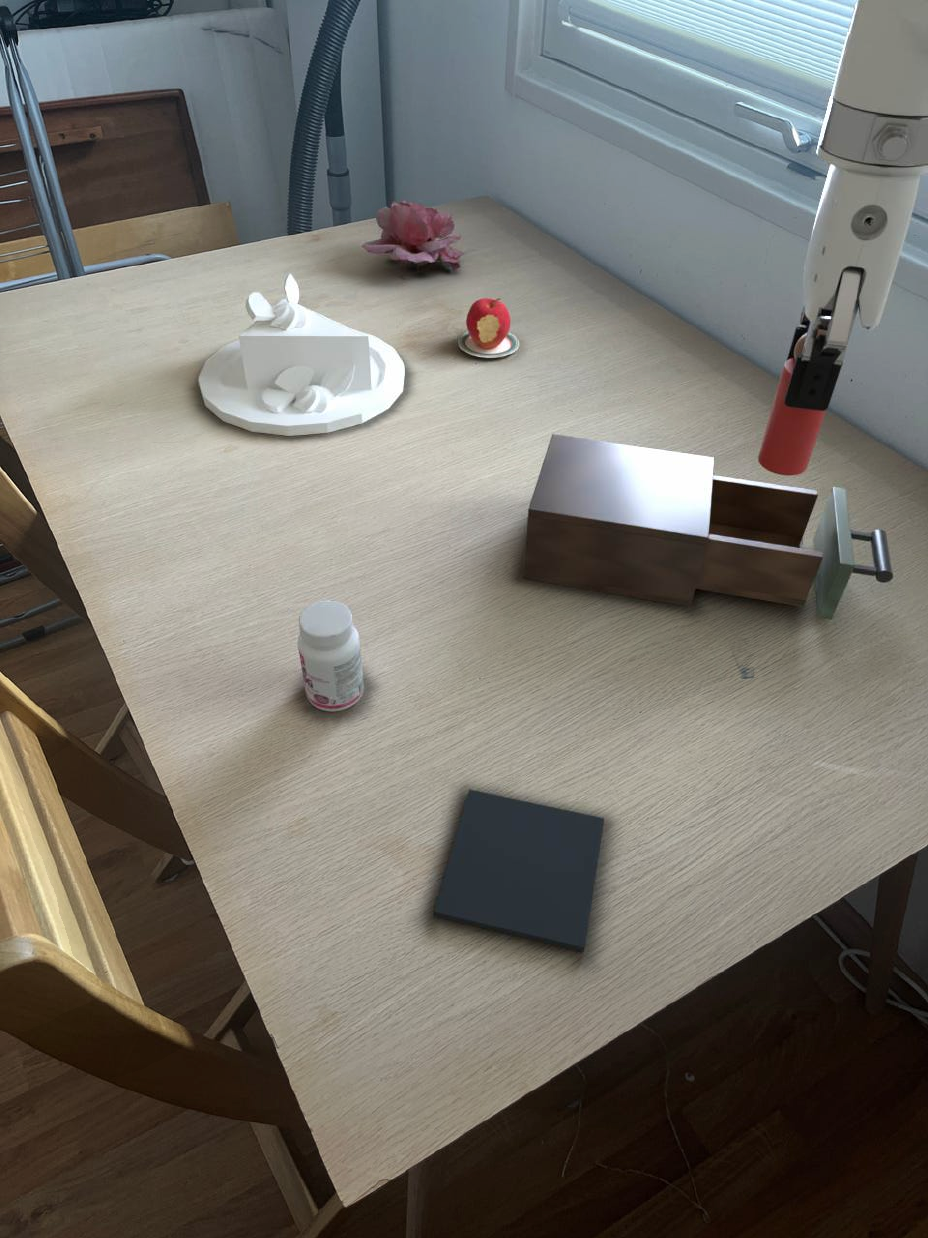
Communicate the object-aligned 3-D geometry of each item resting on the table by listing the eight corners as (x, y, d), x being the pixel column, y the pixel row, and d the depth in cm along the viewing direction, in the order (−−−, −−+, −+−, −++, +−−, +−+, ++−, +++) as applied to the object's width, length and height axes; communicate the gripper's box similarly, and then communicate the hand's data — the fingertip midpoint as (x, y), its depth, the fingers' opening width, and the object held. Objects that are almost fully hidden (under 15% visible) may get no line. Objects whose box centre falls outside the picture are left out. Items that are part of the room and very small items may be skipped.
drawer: (870, 548, 85) (893, 495, 81) (881, 628, 77) (908, 574, 73) (675, 517, 88) (688, 465, 84) (667, 591, 80) (680, 537, 76)
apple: (531, 350, 115) (534, 302, 110) (481, 366, 112) (482, 317, 107) (495, 326, 120) (497, 279, 115) (446, 341, 116) (446, 293, 112)
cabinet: (697, 524, 89) (714, 457, 83) (690, 607, 80) (709, 537, 74) (545, 500, 91) (552, 433, 86) (522, 578, 82) (528, 509, 77)
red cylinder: (806, 452, 74) (848, 323, 67) (807, 478, 72) (852, 346, 64) (758, 446, 75) (794, 316, 67) (757, 471, 72) (795, 340, 64)
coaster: (603, 822, 63) (604, 818, 63) (583, 952, 56) (584, 948, 56) (468, 793, 65) (469, 789, 65) (433, 916, 58) (433, 912, 58)
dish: (159, 410, 103) (136, 318, 95) (266, 321, 120) (253, 236, 112) (350, 453, 97) (342, 359, 89) (433, 353, 114) (433, 266, 106)
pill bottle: (293, 692, 72) (280, 618, 66) (337, 661, 74) (328, 587, 69) (332, 723, 70) (321, 649, 64) (376, 690, 72) (370, 616, 66)
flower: (427, 280, 123) (431, 202, 119) (346, 270, 130) (347, 195, 126) (484, 277, 134) (489, 205, 130) (407, 267, 141) (409, 199, 137)
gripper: (966, 180, 50) (861, 455, 62) (928, 105, 61) (847, 349, 74) (828, 168, 51) (753, 440, 64) (817, 97, 63) (756, 338, 75)
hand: (804, 389), depth 69 cm, fingers closed on red cylinder, 4 cm apart
